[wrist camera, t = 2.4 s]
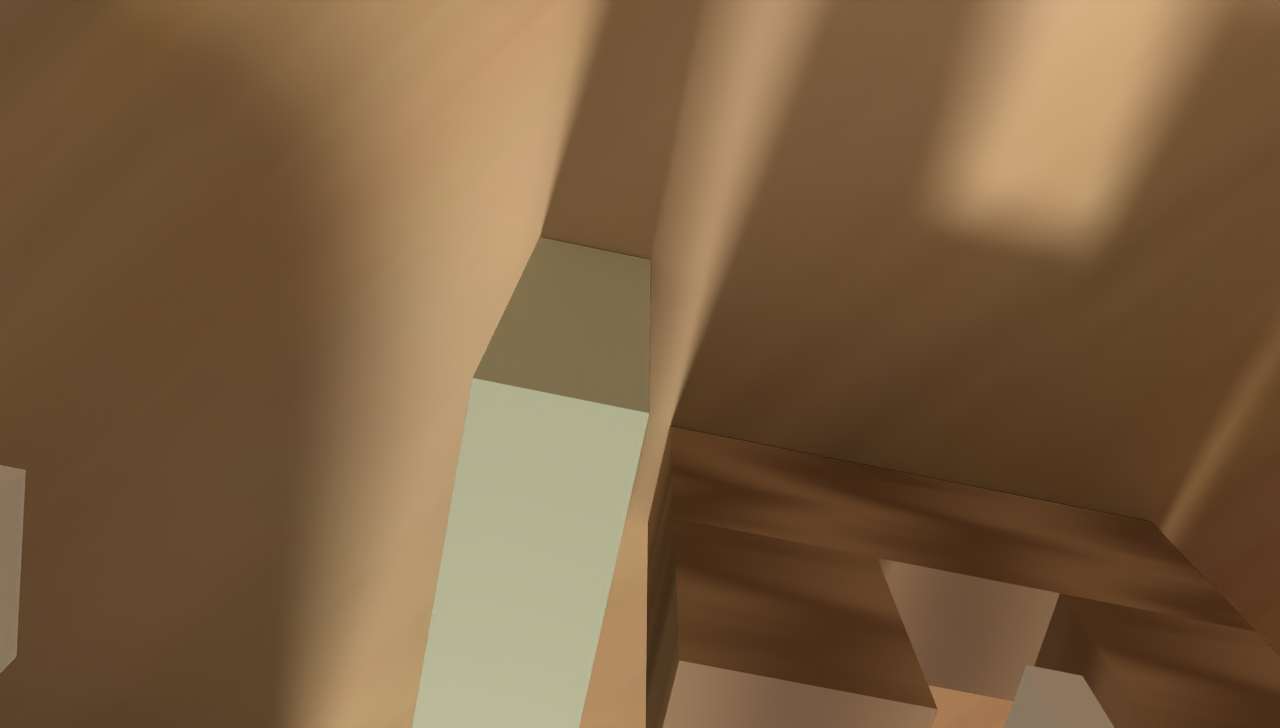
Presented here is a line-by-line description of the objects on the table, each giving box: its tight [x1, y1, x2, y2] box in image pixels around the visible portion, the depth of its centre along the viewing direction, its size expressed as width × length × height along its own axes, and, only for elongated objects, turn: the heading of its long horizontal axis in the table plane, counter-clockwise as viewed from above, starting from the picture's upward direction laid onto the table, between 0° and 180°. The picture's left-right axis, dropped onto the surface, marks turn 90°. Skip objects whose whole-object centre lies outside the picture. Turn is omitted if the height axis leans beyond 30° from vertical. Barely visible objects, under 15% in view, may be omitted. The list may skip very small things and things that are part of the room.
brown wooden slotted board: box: [646, 426, 1280, 728], centre depth 27 cm, size 14×3×12 cm, turn 78°
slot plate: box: [412, 237, 651, 728], centre depth 27 cm, size 14×3×12 cm, turn 168°
